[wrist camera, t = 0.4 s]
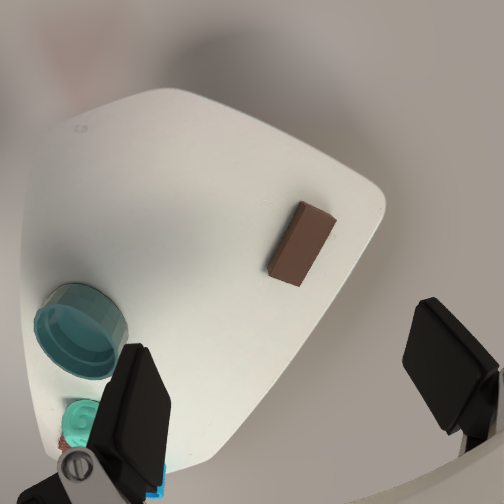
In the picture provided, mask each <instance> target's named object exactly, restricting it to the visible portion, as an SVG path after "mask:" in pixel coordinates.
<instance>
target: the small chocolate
mask: <svg viewBox="0 0 504 504" xmlns="http://www.w3.org/2000/svg"><path fill="white" fill-rule="evenodd" d="M336 221H337V220H336V219H335V218H334V217H333V216H332V215H330V214H328V213H326V212H324V211H322V210H320V209H318V208H316V207H314V206H311V205H309V204H307V203H305V202H303V201H301V203H300V205H299V207H298V209H297V211H296V213H295V215H294V217H293V219H292V221H291V223H290V225H289V226H288V228H287V230H286V232H285V234H284V236H283V238H282V240H281V242H280V244H279V246H278V248H277V250H276V252H275V253H274V255H273V257H272V259H271V261H270V263H269V265H268V267H267V270H268V274H269V276H271V277H273V278H276V279H279V280H281V281H284V282H287V283H290V284H292V285H295V286H298V287H300V285H301V283H302V281H303V280H304V278H305V276H306V275H307V273H308V271H309V269H310V268H311V266H312V264H313V262H314V261H315V259H316V257H317V255H318V254H319V252H320V250H321V248H322V247H323V245H324V243H325V241H326V239H327V238H328V236H329V234H330V232H331V230H332V228H333V227H334V225H335V223H336Z"/></svg>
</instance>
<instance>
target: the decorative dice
mask: <svg viewBox="0 0 504 504" xmlns="http://www.w3.org/2000/svg"><path fill="white" fill-rule="evenodd" d="M98 406H99V403H98V402H96V401H92V400H79V401H76V402H74V403H72V404H71V405H70V406H69V407H68V408H67V409H66V410H65V412H64V414H63V417H62V432H63V436H64V438H65V440H66V442H67V443H68V444H69V445H70V446H71V447H76V446H82V447H85V448H86V445H87V441H88V438H89V435H90V431H91V428H92V425H93V422H94V419H95V416H96V412H97V409H98Z"/></svg>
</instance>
